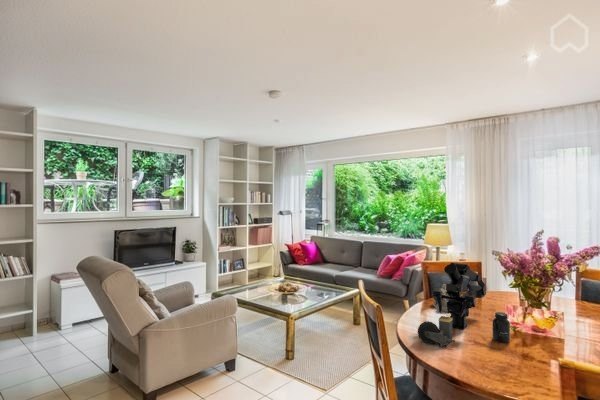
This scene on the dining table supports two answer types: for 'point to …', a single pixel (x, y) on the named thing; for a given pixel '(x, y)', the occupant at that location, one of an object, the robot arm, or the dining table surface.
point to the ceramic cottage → (444, 306)
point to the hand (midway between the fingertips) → (450, 314)
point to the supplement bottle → (501, 328)
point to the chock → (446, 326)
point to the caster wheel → (432, 334)
